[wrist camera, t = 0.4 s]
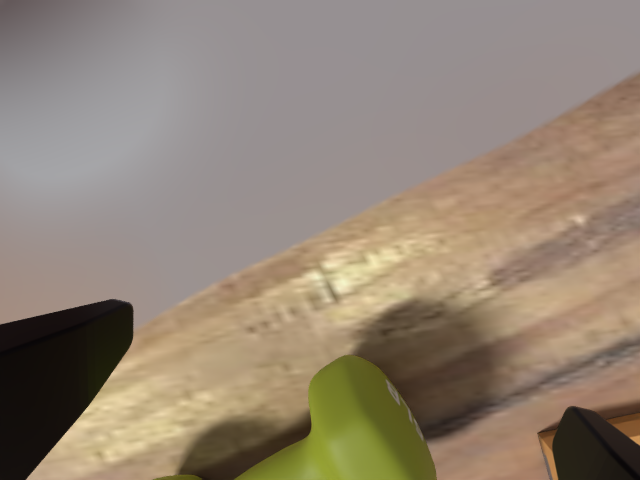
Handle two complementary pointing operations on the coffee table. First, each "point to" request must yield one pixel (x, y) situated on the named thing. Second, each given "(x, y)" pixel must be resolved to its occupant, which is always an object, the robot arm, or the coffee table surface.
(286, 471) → the dumbbell
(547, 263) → the coffee table surface
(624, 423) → the tray
